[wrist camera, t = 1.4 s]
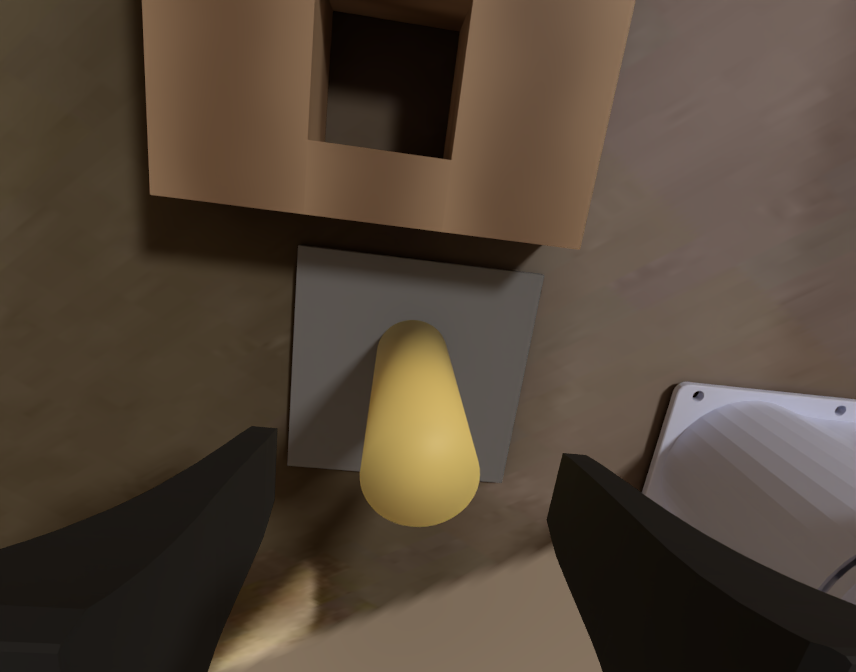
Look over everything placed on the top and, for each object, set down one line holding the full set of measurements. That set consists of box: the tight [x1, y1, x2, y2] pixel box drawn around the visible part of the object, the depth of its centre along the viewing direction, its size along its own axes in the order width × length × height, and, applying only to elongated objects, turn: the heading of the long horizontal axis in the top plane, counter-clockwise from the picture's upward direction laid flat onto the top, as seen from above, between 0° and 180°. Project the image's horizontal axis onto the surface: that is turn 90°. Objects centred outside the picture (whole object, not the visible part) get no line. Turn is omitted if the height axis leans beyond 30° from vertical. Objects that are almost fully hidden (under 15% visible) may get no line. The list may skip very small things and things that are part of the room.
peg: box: [360, 320, 480, 527], centre depth 16 cm, size 3×3×9 cm
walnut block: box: [142, 0, 636, 250], centre depth 16 cm, size 14×9×4 cm, turn 83°
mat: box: [287, 245, 544, 483], centre depth 21 cm, size 10×10×1 cm
